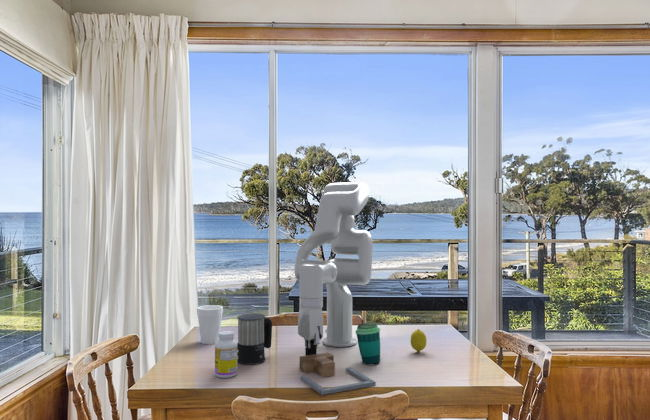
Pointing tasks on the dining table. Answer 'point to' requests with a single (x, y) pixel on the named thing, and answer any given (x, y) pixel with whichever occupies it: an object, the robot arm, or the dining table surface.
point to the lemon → (418, 340)
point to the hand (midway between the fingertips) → (310, 359)
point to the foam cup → (209, 322)
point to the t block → (318, 364)
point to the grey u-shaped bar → (322, 391)
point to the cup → (369, 343)
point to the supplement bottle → (226, 355)
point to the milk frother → (253, 338)
